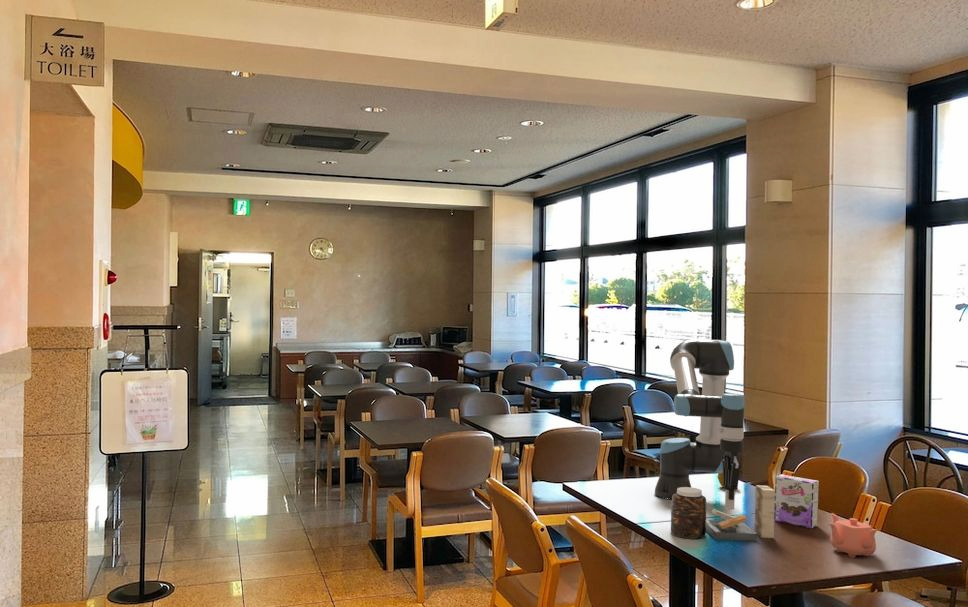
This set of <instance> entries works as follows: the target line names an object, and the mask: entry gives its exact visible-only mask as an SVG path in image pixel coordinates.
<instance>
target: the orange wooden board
mask: <svg viewBox="0 0 968 607" xmlns="http://www.w3.org/2000/svg"><path fill="white" fill-rule="evenodd" d="M733 517H734V518H731V519H727V520H725V521H722V520H721V521H722V522H719V523H718V525H719V527H720V528H721V529H724V528H727V527H730V526H733V525H736V524H739V523H742V522H743V523H745V522H748V518H747V516H745V514H740V515H738V516H733Z"/></svg>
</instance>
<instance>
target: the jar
mask: <svg viewBox="0 0 968 607" xmlns="http://www.w3.org/2000/svg"><path fill="white" fill-rule="evenodd" d="M691 487H692V486H691ZM691 487H680V488H678V489H677V493H675V494H673V496H672V500H671V508H670V509H671V510H670V533H671V535H672V536H674V537H677V538H681V539H687V540H699V539H704V538H706V534H707V531H706V520H707V498H706V496H704V495H703V493H702V492H703V490H702V489H700V488H696V487H692V488H691Z"/></svg>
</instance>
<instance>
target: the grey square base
mask: <svg viewBox="0 0 968 607" xmlns="http://www.w3.org/2000/svg"><path fill="white" fill-rule="evenodd" d="M725 520H728V519H725V518H722V519H721V520H719V519H718V520H715V519H712V520H711V519H710V520H709V519H706V533H708V534H709V535H710V536H711V537H712V538H713V539H714V540H716V541H719V540H720V541H743V542H745V541H748V542H758V534H757V533H756V532H755V531H754V530H753V529H752V528H751V527H750V526H748V525H747V524H746V523H745V522H742V523H739V524H736V525H733V526H730V527H727V528H724V529H721V528H720V527H719V525H718V523H719V522H722V521H725Z"/></svg>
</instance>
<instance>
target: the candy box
mask: <svg viewBox="0 0 968 607" xmlns="http://www.w3.org/2000/svg"><path fill="white" fill-rule="evenodd" d="M774 481H775V482H774V483H775V484H774V485H775V487H774V488H775V489H774V490H775V508H774V522H780V523H785V524H789V525H794V526H798V527H802V528H807V529H814V528H816V527H818V509H819V486H820V484H819V482H820V481H819V480H815V479H809V478H804V477H797V476H793V475H786V474H779V475H776V476H775V480H774Z"/></svg>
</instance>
